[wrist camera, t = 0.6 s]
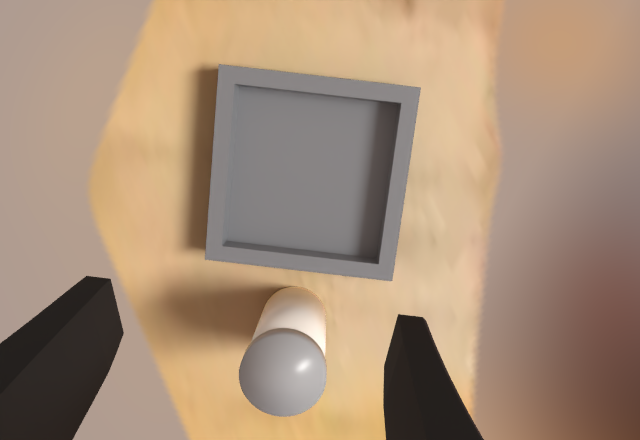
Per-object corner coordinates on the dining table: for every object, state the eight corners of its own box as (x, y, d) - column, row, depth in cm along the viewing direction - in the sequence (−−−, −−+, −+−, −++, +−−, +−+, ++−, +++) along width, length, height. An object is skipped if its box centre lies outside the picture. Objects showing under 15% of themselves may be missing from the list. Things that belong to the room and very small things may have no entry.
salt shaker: (323, 351, 34) (320, 421, 26) (258, 344, 34) (235, 411, 26) (331, 289, 33) (331, 341, 25) (264, 281, 33) (242, 331, 25)
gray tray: (388, 272, 32) (392, 281, 30) (212, 251, 32) (204, 259, 30) (415, 90, 30) (420, 87, 28) (226, 68, 30) (218, 64, 28)
